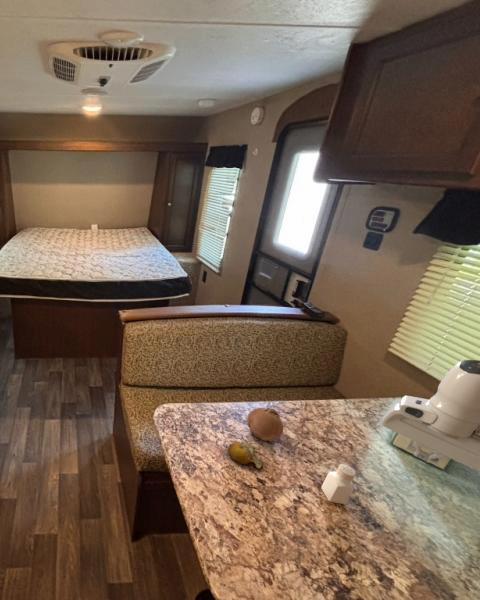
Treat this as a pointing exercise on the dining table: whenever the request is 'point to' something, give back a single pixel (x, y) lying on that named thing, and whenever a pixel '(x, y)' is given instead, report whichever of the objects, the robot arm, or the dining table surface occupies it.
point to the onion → (265, 423)
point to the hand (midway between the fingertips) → (421, 458)
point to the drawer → (410, 447)
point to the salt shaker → (339, 484)
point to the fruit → (243, 454)
